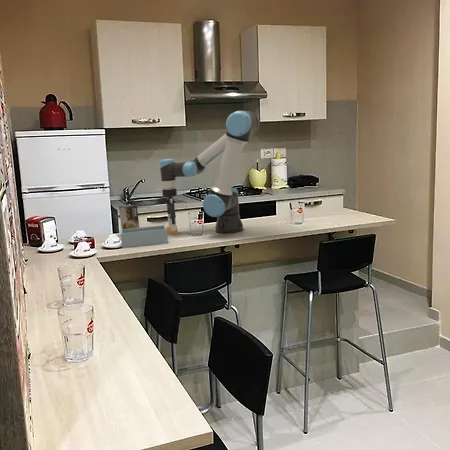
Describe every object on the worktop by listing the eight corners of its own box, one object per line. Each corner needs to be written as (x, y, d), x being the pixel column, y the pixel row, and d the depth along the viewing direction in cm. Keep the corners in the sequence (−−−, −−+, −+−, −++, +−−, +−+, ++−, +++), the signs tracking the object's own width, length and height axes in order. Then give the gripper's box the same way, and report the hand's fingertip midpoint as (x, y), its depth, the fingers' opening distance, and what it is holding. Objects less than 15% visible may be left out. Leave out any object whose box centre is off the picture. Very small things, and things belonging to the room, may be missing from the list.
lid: (176, 231, 284) (175, 223, 283) (179, 235, 272) (177, 227, 271) (122, 242, 279) (120, 233, 278) (122, 246, 267) (120, 238, 266)
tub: (166, 240, 264) (164, 225, 263) (168, 245, 253) (166, 229, 251) (122, 245, 260) (120, 229, 259) (122, 250, 249) (120, 233, 247)
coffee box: (137, 232, 292) (135, 204, 289) (140, 234, 286) (137, 205, 283) (121, 234, 289) (118, 206, 286) (123, 236, 283) (120, 207, 280)
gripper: (160, 187, 285) (163, 225, 289) (164, 191, 261) (167, 232, 264) (173, 185, 286) (177, 223, 290) (178, 190, 262) (182, 231, 266)
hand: (172, 228), depth 277 cm, fingers open, 13 cm apart
